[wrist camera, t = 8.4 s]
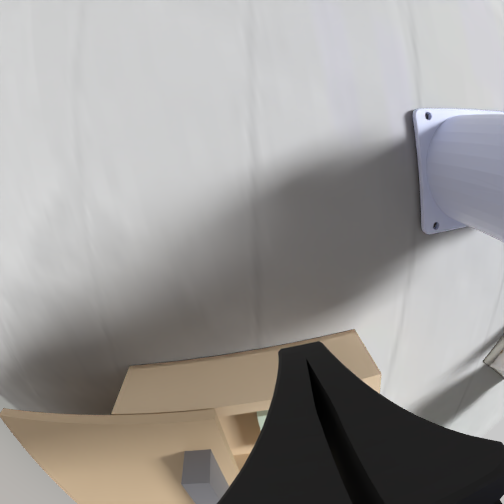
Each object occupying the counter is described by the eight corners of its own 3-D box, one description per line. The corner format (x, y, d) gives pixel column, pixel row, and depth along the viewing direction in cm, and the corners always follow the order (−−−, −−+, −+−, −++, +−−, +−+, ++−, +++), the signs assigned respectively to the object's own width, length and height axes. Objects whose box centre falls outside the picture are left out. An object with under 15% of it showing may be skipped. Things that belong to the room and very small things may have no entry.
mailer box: (354, 329, 21) (381, 373, 16) (352, 434, 25) (367, 475, 20) (129, 365, 21) (111, 413, 16) (179, 460, 25) (174, 503, 20)
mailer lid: (215, 408, 16) (213, 455, 13) (253, 503, 20) (256, 535, 17) (3, 408, 16) (-16, 437, 13) (80, 498, 20) (72, 524, 17)
